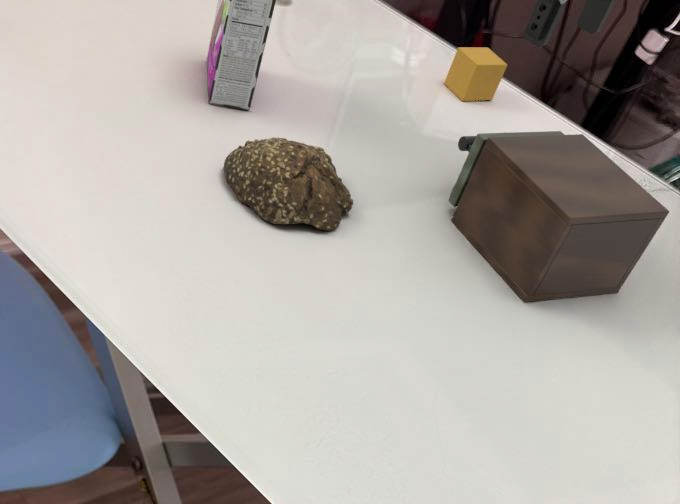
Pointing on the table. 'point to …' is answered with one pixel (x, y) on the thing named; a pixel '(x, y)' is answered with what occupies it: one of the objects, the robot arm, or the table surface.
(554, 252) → the cabinet
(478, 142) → the drawer
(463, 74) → the block
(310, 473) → the table surface
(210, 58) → the candy bar box
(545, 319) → the table surface
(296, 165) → the bread roll
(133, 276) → the table surface
